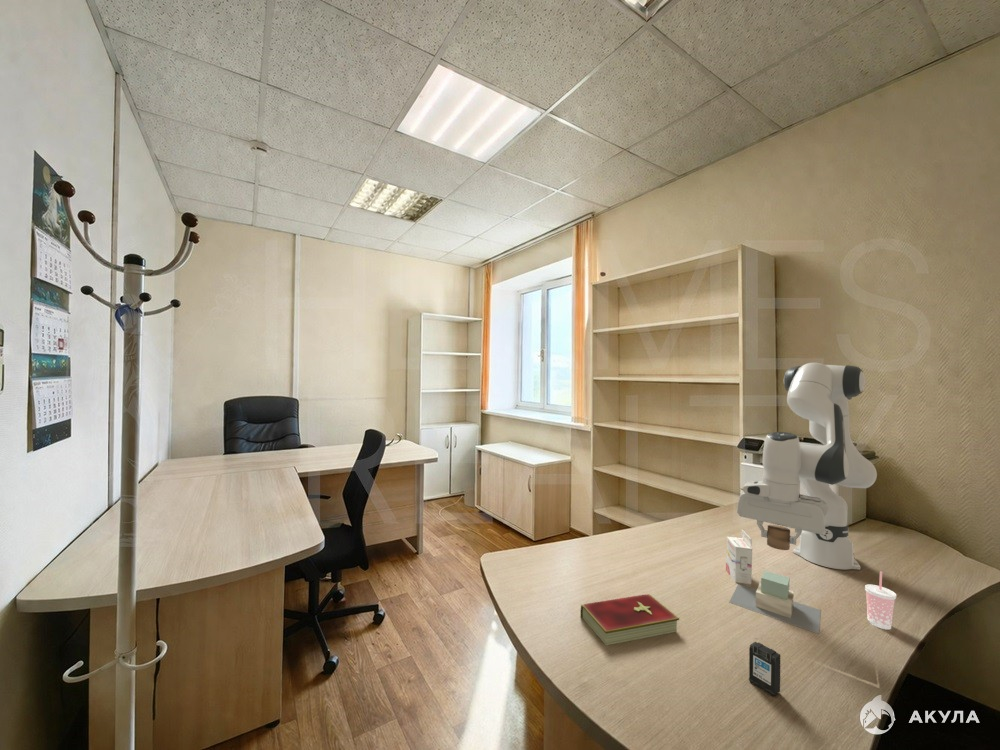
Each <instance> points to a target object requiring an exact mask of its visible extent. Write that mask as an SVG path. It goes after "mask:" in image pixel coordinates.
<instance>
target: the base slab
mask: <svg viewBox="0 0 1000 750" xmlns="http://www.w3.org/2000/svg"><path fill="white" fill-rule="evenodd" d="M794 594H795V591H793V590H790V589H789V594H788V598H787V600H784V599H781V598H778V597H775V596H772V595H769V594H765V593H762V592H761V580H760V582H759V583H758V587H757V591H756V607H759V608H762V609H765V610H768V611H771V612H774V613H776V614H779V615H782V616H785V617H788V618H791V615H792V610H793V602H795V601H794V598H795V595H794Z"/></svg>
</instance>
